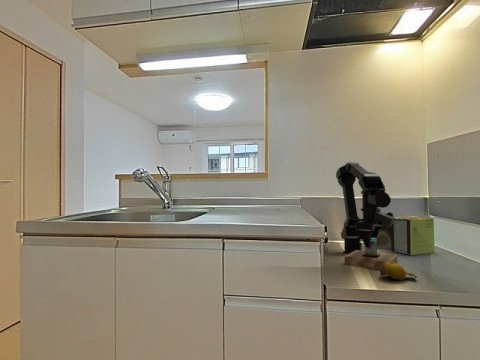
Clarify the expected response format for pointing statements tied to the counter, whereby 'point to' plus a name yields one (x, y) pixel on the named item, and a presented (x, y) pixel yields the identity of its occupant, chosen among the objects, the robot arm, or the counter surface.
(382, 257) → the dock
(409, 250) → the protein box
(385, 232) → the coffee box
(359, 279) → the counter surface
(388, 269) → the fruit
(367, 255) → the grey and teal cylinder
